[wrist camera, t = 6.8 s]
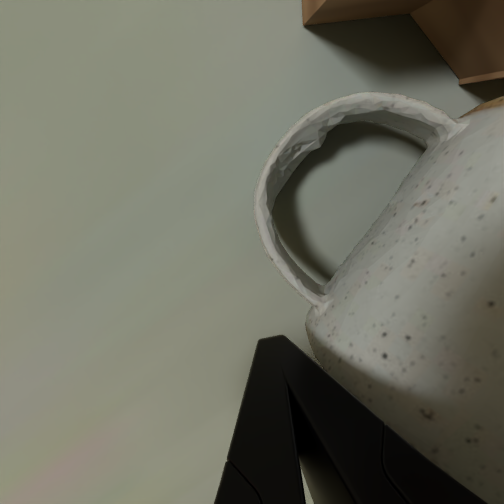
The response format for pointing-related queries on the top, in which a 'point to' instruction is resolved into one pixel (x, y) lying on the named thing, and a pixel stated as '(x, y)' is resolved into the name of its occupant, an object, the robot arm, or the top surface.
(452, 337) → the ceramic mug
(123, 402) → the top surface
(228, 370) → the top surface
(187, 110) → the top surface
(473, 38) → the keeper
